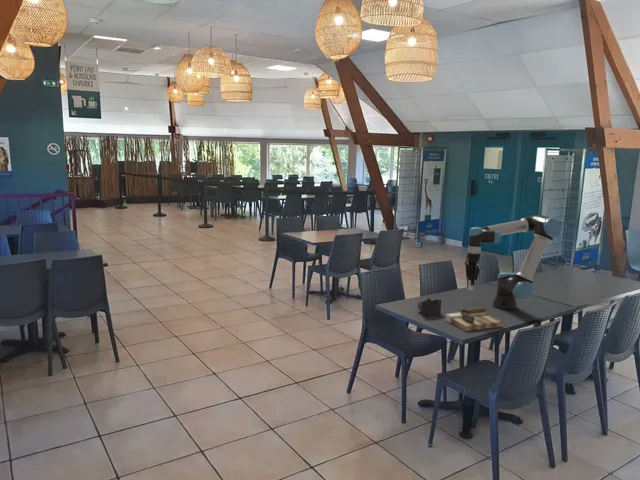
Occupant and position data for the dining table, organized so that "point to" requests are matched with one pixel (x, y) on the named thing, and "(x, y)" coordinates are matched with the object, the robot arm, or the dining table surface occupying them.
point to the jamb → (456, 315)
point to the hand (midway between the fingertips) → (470, 289)
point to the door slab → (477, 322)
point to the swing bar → (473, 310)
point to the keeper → (468, 318)
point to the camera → (430, 307)
